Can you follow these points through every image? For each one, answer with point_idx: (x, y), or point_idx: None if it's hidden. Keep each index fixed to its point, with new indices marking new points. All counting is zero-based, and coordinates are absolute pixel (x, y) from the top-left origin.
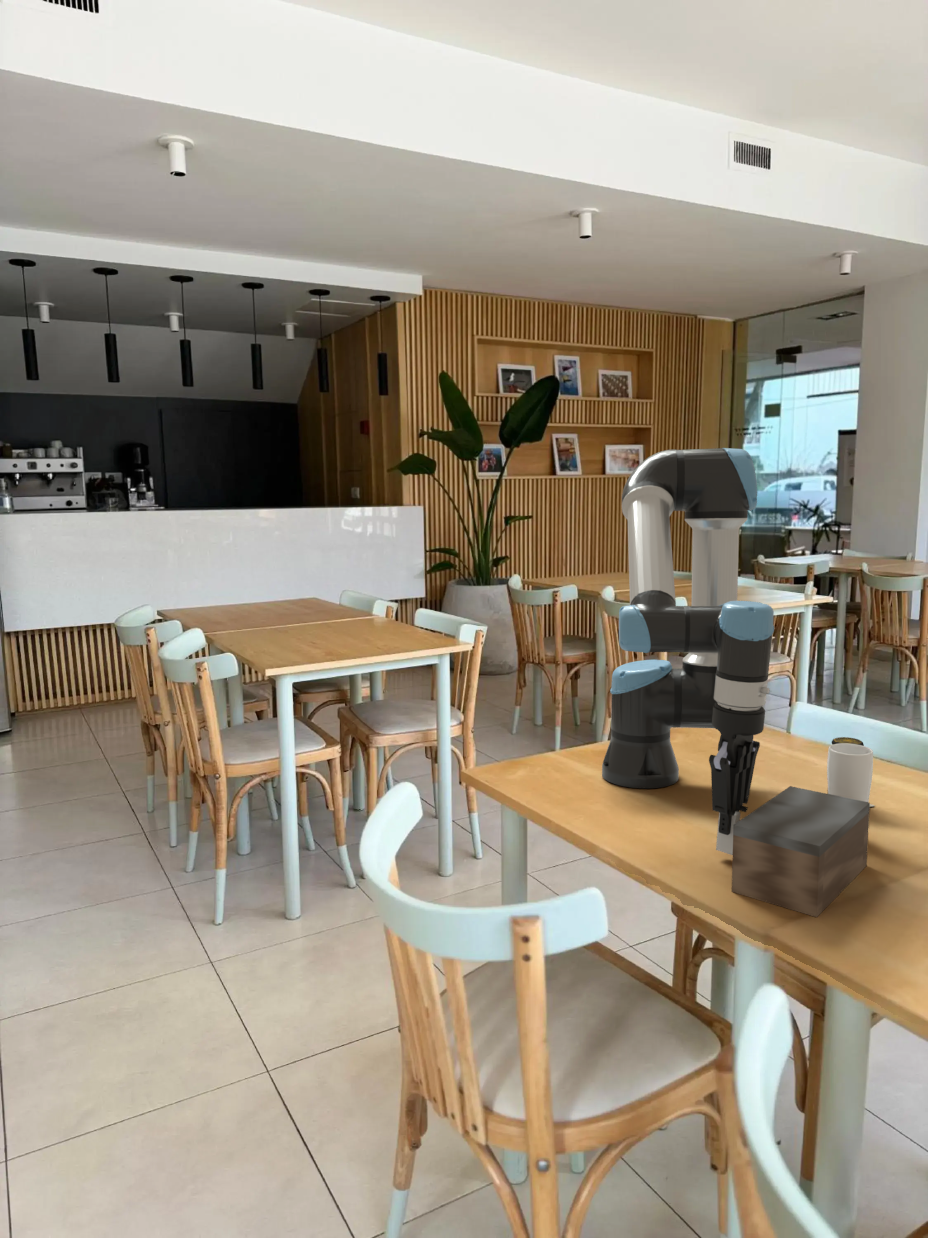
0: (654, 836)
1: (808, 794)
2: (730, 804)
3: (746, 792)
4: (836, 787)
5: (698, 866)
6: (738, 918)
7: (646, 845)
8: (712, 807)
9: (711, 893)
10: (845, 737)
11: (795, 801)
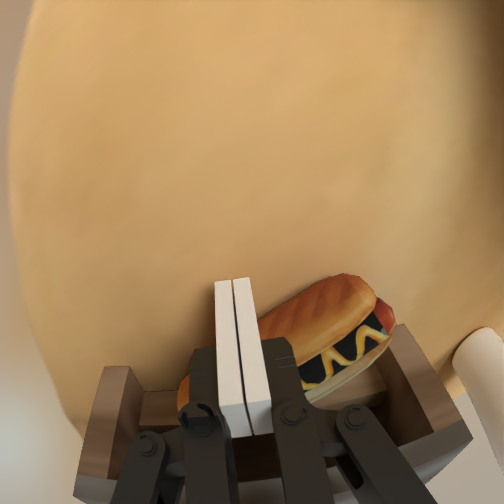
0: (222, 15)
1: (420, 477)
2: (180, 492)
3: (345, 479)
4: (500, 424)
5: (131, 264)
6: (60, 396)
7: (129, 50)
8: (129, 448)
9: (67, 346)
10: None
11: (355, 499)
